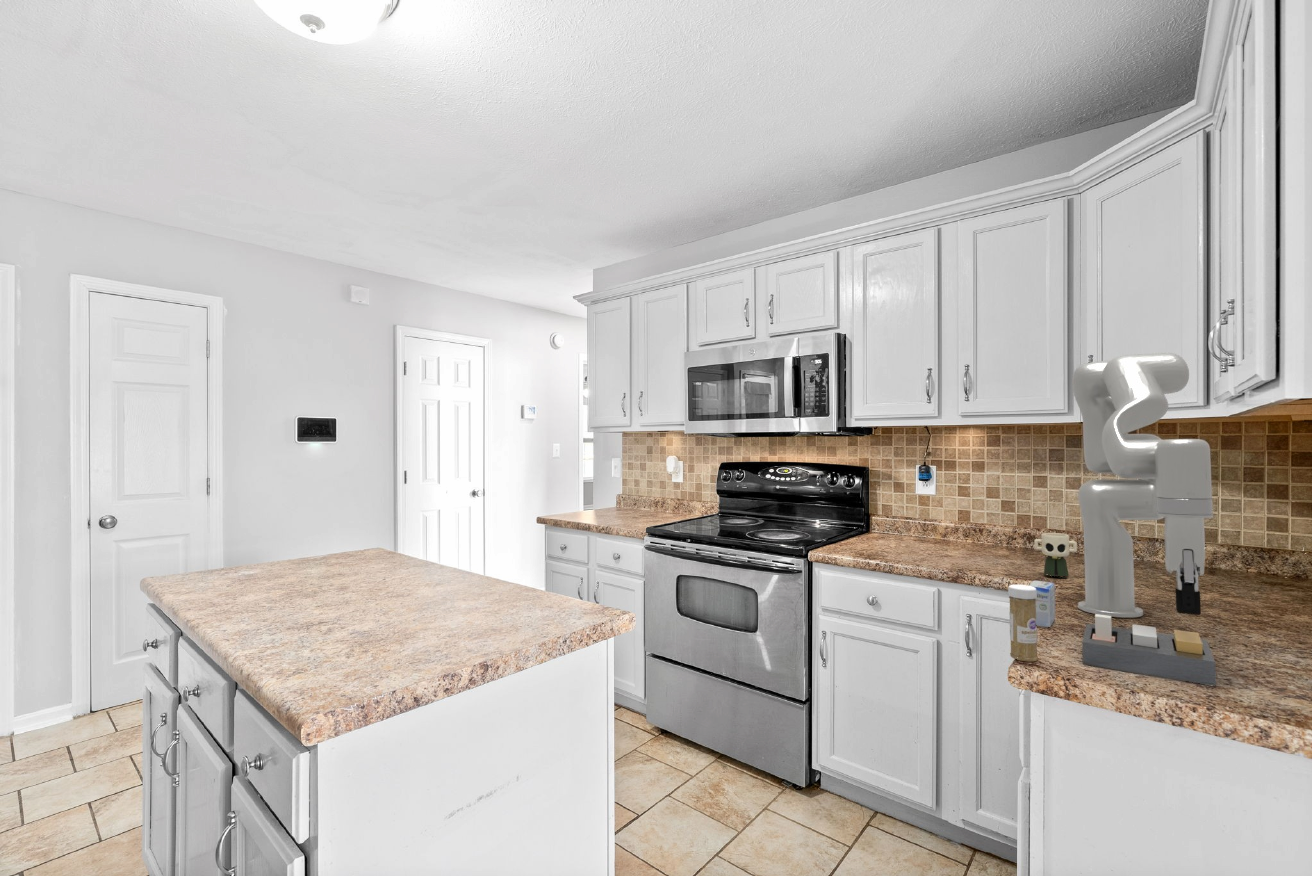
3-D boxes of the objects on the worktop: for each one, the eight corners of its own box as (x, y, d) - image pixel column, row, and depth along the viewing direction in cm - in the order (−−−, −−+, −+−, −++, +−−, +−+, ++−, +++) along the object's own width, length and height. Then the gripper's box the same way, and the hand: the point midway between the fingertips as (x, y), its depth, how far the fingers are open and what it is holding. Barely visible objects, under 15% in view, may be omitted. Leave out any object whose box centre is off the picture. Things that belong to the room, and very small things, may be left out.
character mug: (1034, 577, 188) (1033, 534, 189) (1035, 573, 194) (1034, 531, 195) (1078, 581, 183) (1077, 536, 183) (1077, 576, 189) (1076, 534, 189)
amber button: (1173, 639, 114) (1173, 629, 114) (1198, 642, 111) (1198, 632, 112) (1176, 650, 107) (1176, 640, 107) (1202, 654, 105) (1202, 643, 105)
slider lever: (1093, 638, 118) (1092, 612, 118) (1115, 641, 116) (1114, 615, 116) (1092, 644, 114) (1091, 616, 115) (1115, 647, 112) (1114, 619, 112)
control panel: (1087, 643, 124) (1086, 623, 124) (1206, 661, 113) (1206, 639, 113) (1082, 664, 112) (1082, 642, 112) (1216, 686, 101) (1215, 661, 102)
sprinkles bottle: (1030, 664, 113) (1028, 590, 113) (1005, 657, 117) (1003, 585, 117) (1042, 659, 115) (1041, 586, 116) (1017, 652, 119) (1015, 582, 119)
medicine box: (1033, 617, 144) (1032, 579, 144) (1055, 620, 141) (1054, 582, 142) (1027, 624, 138) (1026, 585, 138) (1051, 628, 135) (1050, 588, 135)
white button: (1132, 633, 117) (1132, 624, 117) (1155, 636, 115) (1155, 627, 115) (1132, 644, 111) (1132, 634, 111) (1157, 648, 109) (1157, 637, 109)
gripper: (1155, 505, 118) (1159, 602, 117) (1158, 509, 106) (1162, 618, 105) (1208, 507, 113) (1212, 608, 112) (1217, 511, 101) (1222, 625, 101)
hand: (1188, 612), depth 109 cm, fingers closed
